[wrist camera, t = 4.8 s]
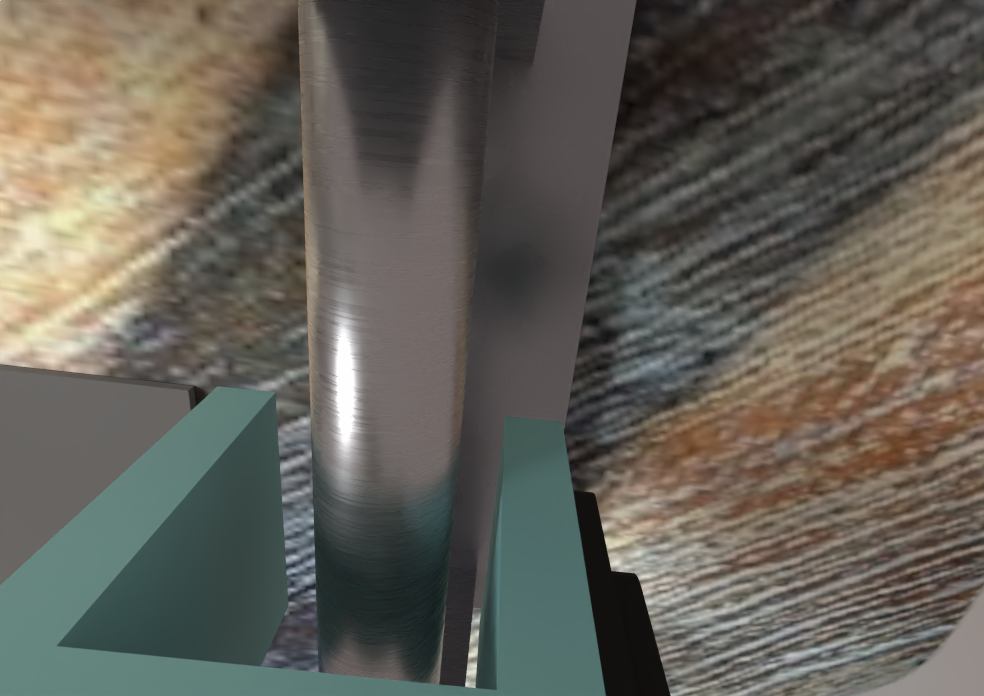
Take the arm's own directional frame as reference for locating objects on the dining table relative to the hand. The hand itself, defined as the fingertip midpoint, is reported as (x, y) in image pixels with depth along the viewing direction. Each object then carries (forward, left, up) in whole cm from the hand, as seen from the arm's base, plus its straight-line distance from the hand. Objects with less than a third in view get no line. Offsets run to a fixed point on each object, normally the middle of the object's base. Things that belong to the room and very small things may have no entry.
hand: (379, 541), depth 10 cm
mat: (+9, -15, -11) cm, 20 cm away
